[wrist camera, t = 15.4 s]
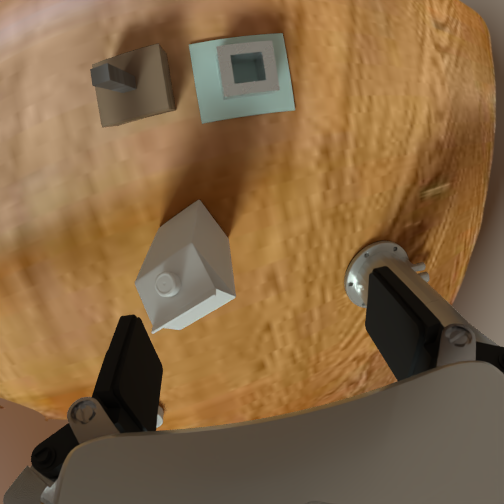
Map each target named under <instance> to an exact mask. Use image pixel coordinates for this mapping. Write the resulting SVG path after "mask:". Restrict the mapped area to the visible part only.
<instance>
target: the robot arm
mask: <svg viewBox="0 0 504 504" xmlns="http://www.w3.org/2000/svg"><path fill="white" fill-rule="evenodd" d="M424 269H425V264H424V262H420V263H417V264H412V263H411V262H410V261H409V259H408V256H407V253H406V252H405V250H404V249H403V248H402V247H401V246H399V245H398V244H396V243H394V242H391V241H379V242H375V243H373V244H370V245H368V246H367V247H365V248H364V249H362V250H361V251H360V252H359V253H358V254H357V255H356V256H355V257H354V258H353V260H352V261H351V263H350V265H349V267H348V269H347V271H346V275H345V281H344V285H345V291H346V293H347V295H348V297H349V298H350V300H351V301H352V302H353V303H354V304H356V305H357V306H360V307H363V308H367V310H366V321H365V326H366V330H367V332H368V334H369V335H370V337H371V338H372V340H373V342H374V343H375V345H376V346H377V348H378V349H379V351H380V353H381V354H382V356H383V358H384V359H385V361H386V362H387V364H388V366H389V367H390V369H391V371H392V372H393V374H394V375H395V377H396V379H397V380H398V382H395V383H392V384H389V385H386V386H384V387H381V388H378V389H375V390H372V391H369V392H366V393H363V394H359V395H356V396H353V397H350V398H346V399H343V400H339V401H336V402H332V403H328V404H325V405H321V406H317V407H313V408H309V409H305V410H301V411H296V412H292V413H287V414H283V415H278V416H273V417H268V418H262V419H257V420H251V421H245V422H238V423H232V424H224V425H217V426H208V427H199V428H188V429H177V430H164V431H156V425H157V415H158V406H159V398H160V389H161V381H162V374H163V368H162V364H161V362H160V360H159V358H158V355H157V353H156V351H155V349H154V347H153V345H152V343H151V341H150V338H149V336H148V334H147V332H146V329H145V327H144V325H143V323H142V320H141V319H140V318H139V317H138V318H137V317H136V316H135V315H127V316H121V317H120V319H119V322H118V325H117V327H116V330H115V333H114V335H113V338H112V341H111V344H110V347H109V349H108V351H107V353H106V355H105V358H104V361H103V364H102V367H101V370H100V373H99V376H98V379H97V382H96V385H95V389H94V392H93V395H92V397H84V398H80V399H78V400H76V401H75V402H74V403H73V404H72V405H71V406H70V408H69V410H68V412H67V419H68V422H69V423H68V424H67V425H65V426H64V427H63V428H61V429H60V430H58V431H57V432H56V433H54V434H53V435H51V436H50V437H49V438H47V439H46V440H44V441H43V442H42V443H40V444H39V445H38V446H37V447H36V448H35V449H34V450H33V452H32V456H31V462H32V466H31V467H29V466H27V467H26V468H25V469H24V470H23V472H22V473H21V474H20V475H19V476H18V478H17V479H16V480H15V481H14V483H13V484H12V485H11V487H10V488H9V489H8V490H7V492H6V493H5V495H4V499H3V503H4V504H504V347H500V346H499V345H497V344H496V343H495V342H493V341H492V340H491V339H489V338H488V337H486V336H485V335H484V334H482V333H481V332H480V331H478V330H477V329H476V328H475V327H474V326H472V325H471V324H470V323H469V322H468V321H467V320H466V319H465V318H463V317H462V316H461V315H460V314H459V313H458V312H457V311H456V310H455V309H454V308H453V307H452V306H451V305H450V304H449V303H448V302H447V301H446V300H445V299H444V298H443V297H442V296H441V295H440V294H439V293H437V292H436V291H435V290H434V289H433V288H432V287H431V286H430V285H429V284H428V283H427V282H428V281H429V274H428V273H427V272H422V273H419V274H417V273H416V271H421V270H424Z"/></svg>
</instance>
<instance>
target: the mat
mask: <svg viewBox="0 0 504 504" xmlns="http://www.w3.org/2000/svg"><path fill="white" fill-rule="evenodd" d="M271 40H272V43H273V49H274V55H275V61H276V68H277V74H278V81H279V87H280V90H279V91H277V92H274V93H272V94H269V95H260V96H252V97H244V98H237V99H230V100H224V101H223V98H222V92H221V86H220V79H219V73H218V67H217V60H216V46H222V45H230V44H238V43H247V42H258V41H271ZM189 49H190V55H191V61H192V68H193V74H194V80H195V86H196V92H197V98H198V103H199V109H200V115H201V121H202V124H203V123H208V122H214V121H219V120H225V119H231V118H237V117H244V116H250V115H258V114H265V113H273V112H282V111H292V110H295V105H294V98H293V92H292V85H291V79H290V72H289V66H288V60H287V54H286V49H285V43H284V38H283V33H276V34H262V35H251V36H241V37H233V38H225V39H219V40H212V41H206V42H201V43H195V44H190V45H189ZM232 70H233V76H234V82H235V84H237V83H245V82H253V81H258V79H257V73H256V66H255V62H247V63H238V64H232Z"/></svg>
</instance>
